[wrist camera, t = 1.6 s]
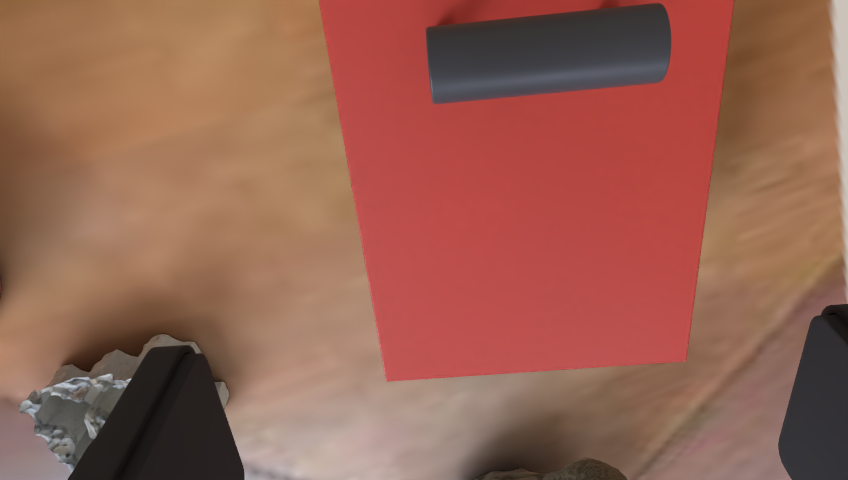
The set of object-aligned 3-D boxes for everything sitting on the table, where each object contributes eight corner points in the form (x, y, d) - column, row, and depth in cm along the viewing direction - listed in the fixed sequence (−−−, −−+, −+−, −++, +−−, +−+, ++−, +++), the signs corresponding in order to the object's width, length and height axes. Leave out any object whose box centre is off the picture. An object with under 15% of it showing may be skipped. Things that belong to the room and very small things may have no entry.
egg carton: (190, 321, 36) (163, 369, 33) (248, 412, 40) (230, 464, 36) (34, 365, 38) (-7, 415, 35) (102, 448, 42) (72, 501, 38)
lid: (317, -34, 20) (281, -6, 15) (734, -80, 19) (831, -67, 14) (387, 369, 28) (377, 467, 23) (680, 349, 27) (730, 446, 22)
